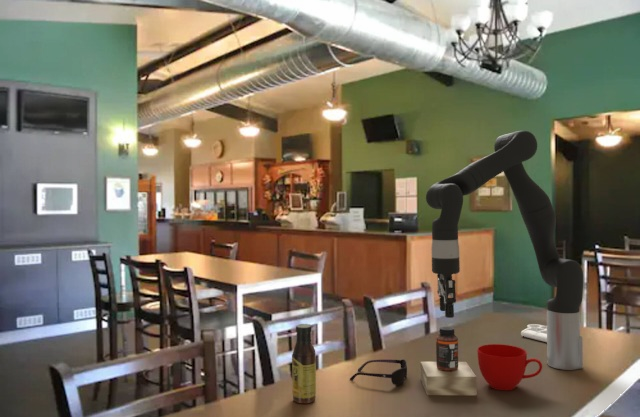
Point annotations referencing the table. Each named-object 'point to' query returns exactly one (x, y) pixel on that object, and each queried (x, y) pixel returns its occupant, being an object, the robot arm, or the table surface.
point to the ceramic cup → (504, 365)
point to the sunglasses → (396, 376)
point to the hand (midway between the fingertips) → (446, 313)
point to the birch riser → (448, 380)
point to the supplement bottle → (447, 349)
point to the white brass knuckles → (535, 332)
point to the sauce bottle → (303, 366)
